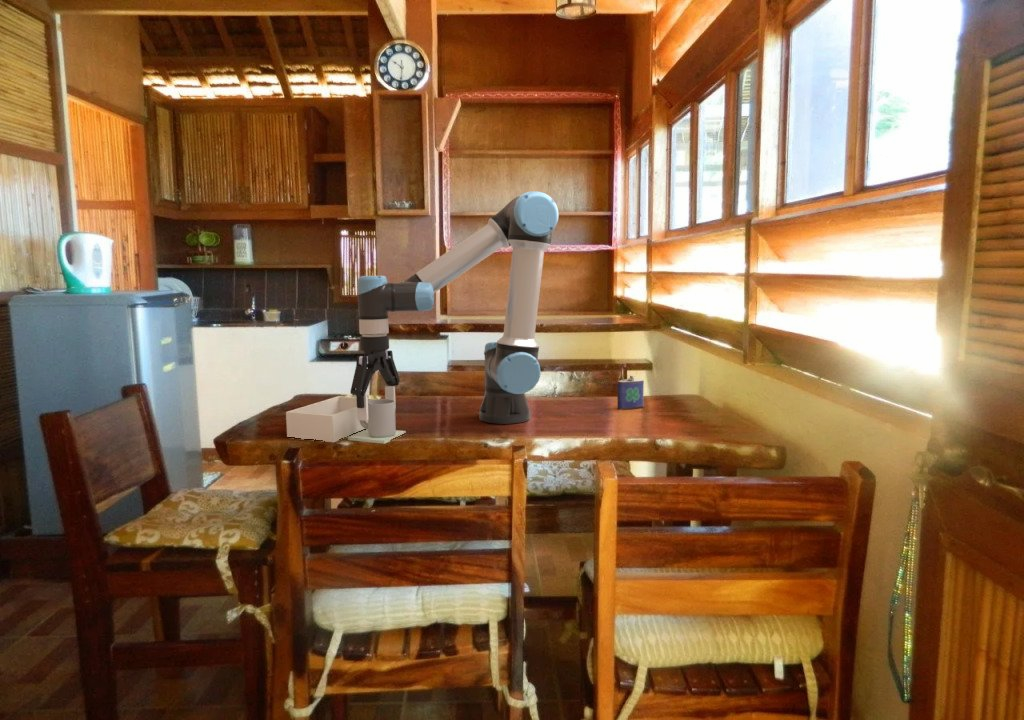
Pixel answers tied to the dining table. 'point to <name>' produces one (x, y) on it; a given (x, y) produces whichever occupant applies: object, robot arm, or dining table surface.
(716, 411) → the dining table surface
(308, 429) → the crate
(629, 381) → the flask
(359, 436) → the tile
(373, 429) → the cup
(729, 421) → the dining table surface
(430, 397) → the dining table surface
